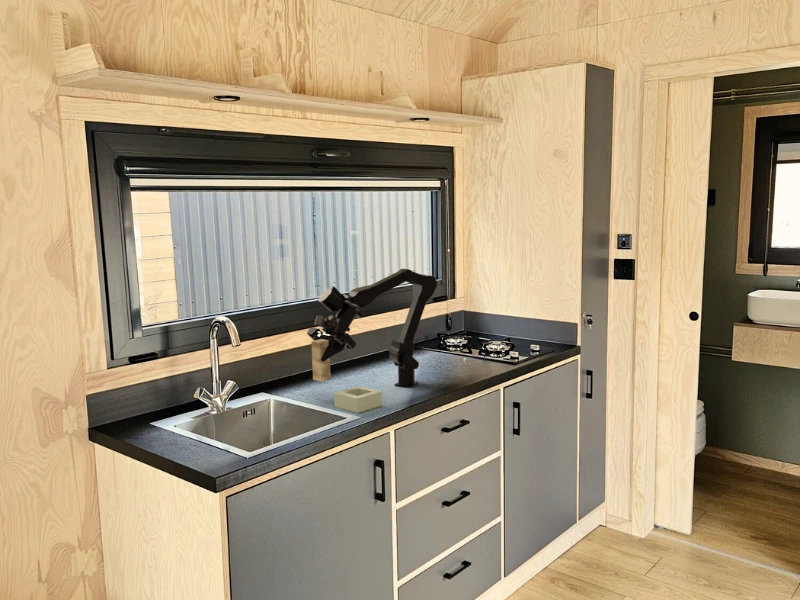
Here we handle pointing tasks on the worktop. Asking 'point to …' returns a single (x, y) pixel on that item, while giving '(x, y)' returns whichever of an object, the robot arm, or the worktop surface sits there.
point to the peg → (319, 367)
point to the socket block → (358, 399)
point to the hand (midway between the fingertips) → (317, 359)
